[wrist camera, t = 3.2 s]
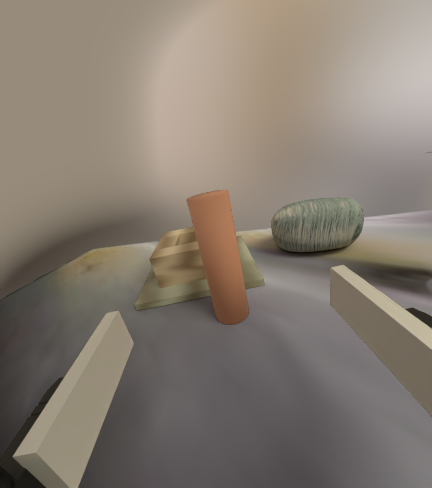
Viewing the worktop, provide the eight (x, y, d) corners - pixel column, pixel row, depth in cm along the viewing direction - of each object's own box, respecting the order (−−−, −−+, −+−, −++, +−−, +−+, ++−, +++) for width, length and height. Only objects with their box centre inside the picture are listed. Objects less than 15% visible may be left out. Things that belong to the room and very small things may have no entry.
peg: (245, 298, 26) (226, 188, 21) (252, 320, 23) (230, 193, 17) (214, 304, 26) (188, 196, 21) (216, 327, 23) (184, 203, 17)
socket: (241, 239, 45) (237, 213, 43) (264, 285, 28) (259, 245, 26) (161, 256, 45) (153, 231, 43) (136, 310, 28) (121, 273, 26)
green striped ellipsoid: (356, 213, 37) (349, 168, 31) (375, 256, 31) (372, 211, 25) (280, 234, 43) (262, 201, 37) (285, 273, 37) (264, 241, 31)
